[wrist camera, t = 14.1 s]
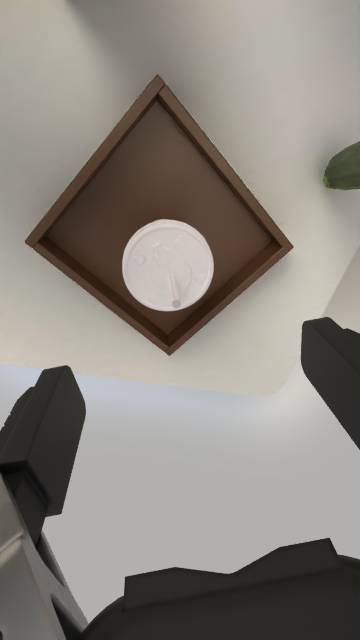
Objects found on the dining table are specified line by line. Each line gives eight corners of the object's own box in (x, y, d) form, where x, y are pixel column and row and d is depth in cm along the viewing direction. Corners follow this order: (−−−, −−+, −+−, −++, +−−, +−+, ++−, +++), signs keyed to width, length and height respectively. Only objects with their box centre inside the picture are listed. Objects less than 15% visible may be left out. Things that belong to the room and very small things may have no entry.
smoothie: (147, 280, 31) (145, 359, 18) (117, 220, 28) (91, 267, 15) (205, 255, 30) (243, 319, 18) (181, 191, 27) (206, 215, 15)
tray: (36, 234, 28) (23, 242, 26) (156, 84, 24) (157, 73, 21) (168, 340, 35) (169, 356, 32) (280, 239, 31) (294, 247, 28)
